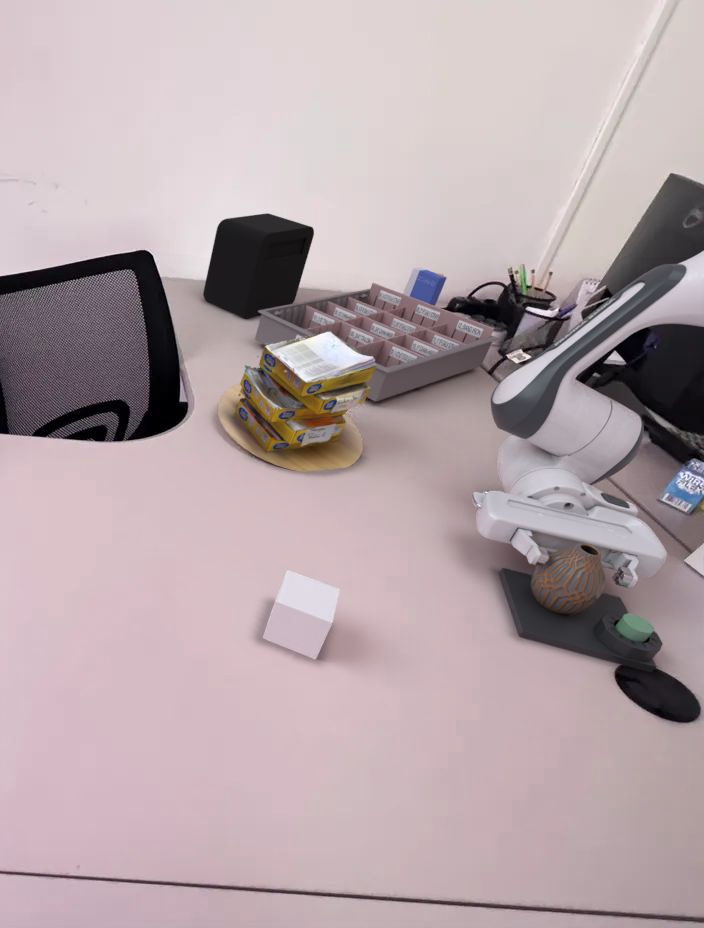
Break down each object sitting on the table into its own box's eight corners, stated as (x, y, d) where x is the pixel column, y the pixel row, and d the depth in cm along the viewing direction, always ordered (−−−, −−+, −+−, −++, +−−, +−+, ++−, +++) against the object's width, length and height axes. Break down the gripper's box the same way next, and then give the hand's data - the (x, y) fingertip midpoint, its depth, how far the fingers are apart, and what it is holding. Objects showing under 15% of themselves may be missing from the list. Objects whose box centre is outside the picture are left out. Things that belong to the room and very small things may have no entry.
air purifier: (248, 289, 179) (267, 210, 168) (293, 307, 170) (317, 225, 159) (197, 300, 168) (214, 217, 157) (242, 320, 159) (264, 234, 148)
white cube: (323, 626, 79) (340, 588, 75) (315, 660, 74) (332, 623, 71) (272, 606, 81) (286, 569, 77) (261, 639, 76) (276, 601, 73)
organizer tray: (248, 345, 147) (259, 301, 141) (358, 319, 167) (372, 280, 161) (373, 410, 126) (393, 362, 121) (483, 372, 146) (504, 329, 141)
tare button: (639, 628, 80) (648, 617, 79) (649, 646, 77) (658, 635, 76) (611, 620, 80) (619, 610, 79) (620, 638, 78) (628, 628, 77)
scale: (619, 604, 87) (632, 588, 85) (655, 674, 77) (671, 657, 75) (497, 574, 90) (508, 557, 88) (518, 637, 80) (530, 620, 78)
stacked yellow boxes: (390, 469, 109) (431, 376, 100) (250, 476, 104) (280, 378, 94) (314, 397, 129) (343, 314, 119) (193, 399, 123) (213, 312, 114)
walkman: (428, 323, 170) (447, 276, 163) (420, 324, 169) (440, 276, 162) (402, 311, 175) (420, 265, 168) (395, 312, 174) (413, 266, 167)
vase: (554, 626, 81) (593, 572, 76) (509, 586, 86) (543, 533, 81) (597, 618, 82) (638, 565, 77) (550, 580, 88) (586, 527, 83)
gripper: (479, 469, 91) (500, 528, 80) (649, 507, 87) (696, 575, 76) (459, 506, 95) (477, 568, 84) (622, 544, 90) (663, 614, 79)
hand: (583, 571), depth 80 cm, fingers open, 8 cm apart
